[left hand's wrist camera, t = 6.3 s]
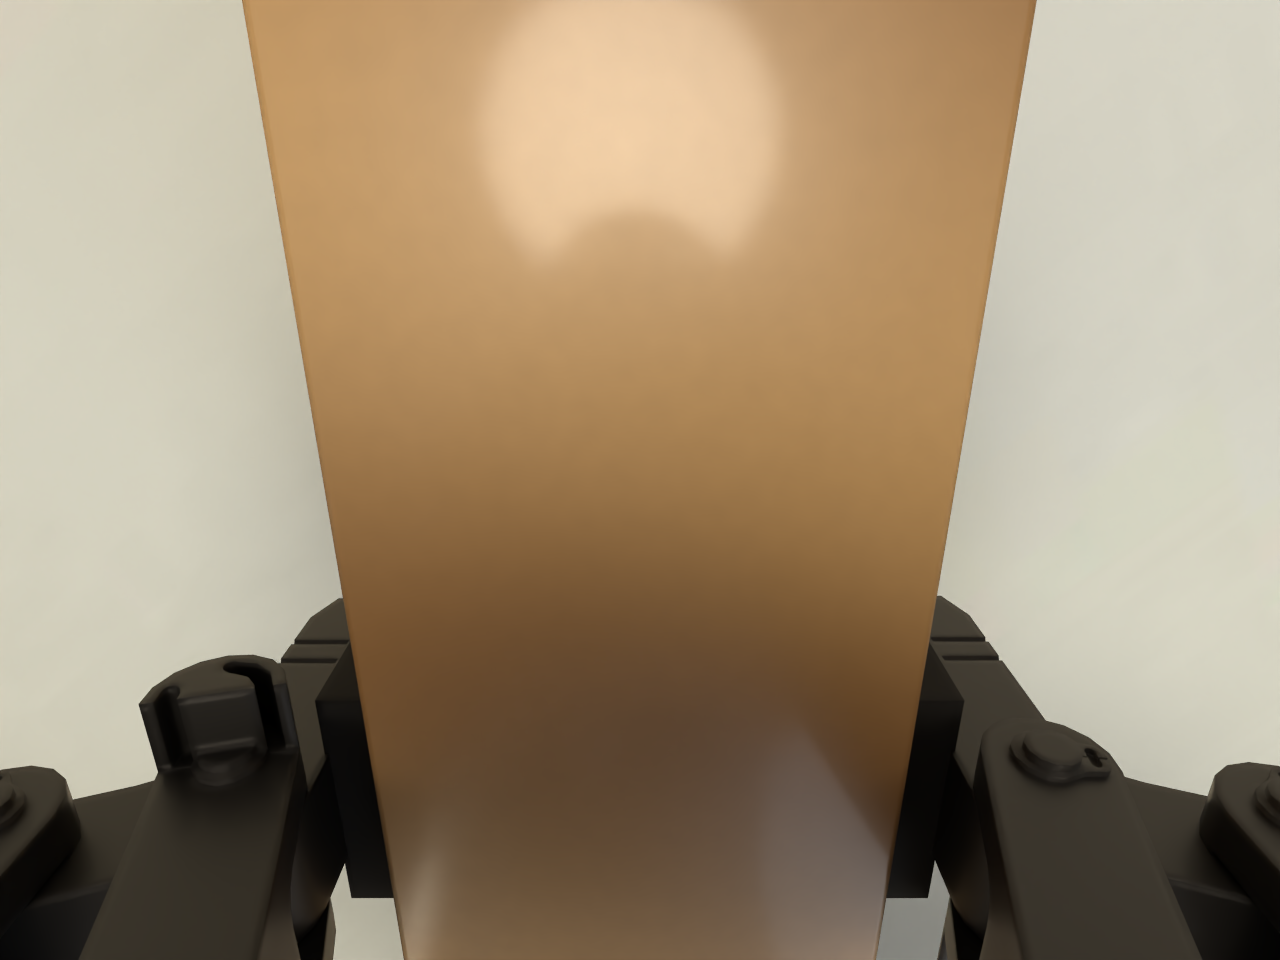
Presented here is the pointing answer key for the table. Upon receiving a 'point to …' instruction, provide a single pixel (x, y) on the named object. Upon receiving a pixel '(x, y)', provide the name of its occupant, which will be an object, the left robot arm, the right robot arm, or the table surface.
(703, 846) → the bar
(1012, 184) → the table surface
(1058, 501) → the table surface
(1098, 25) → the table surface
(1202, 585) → the table surface
